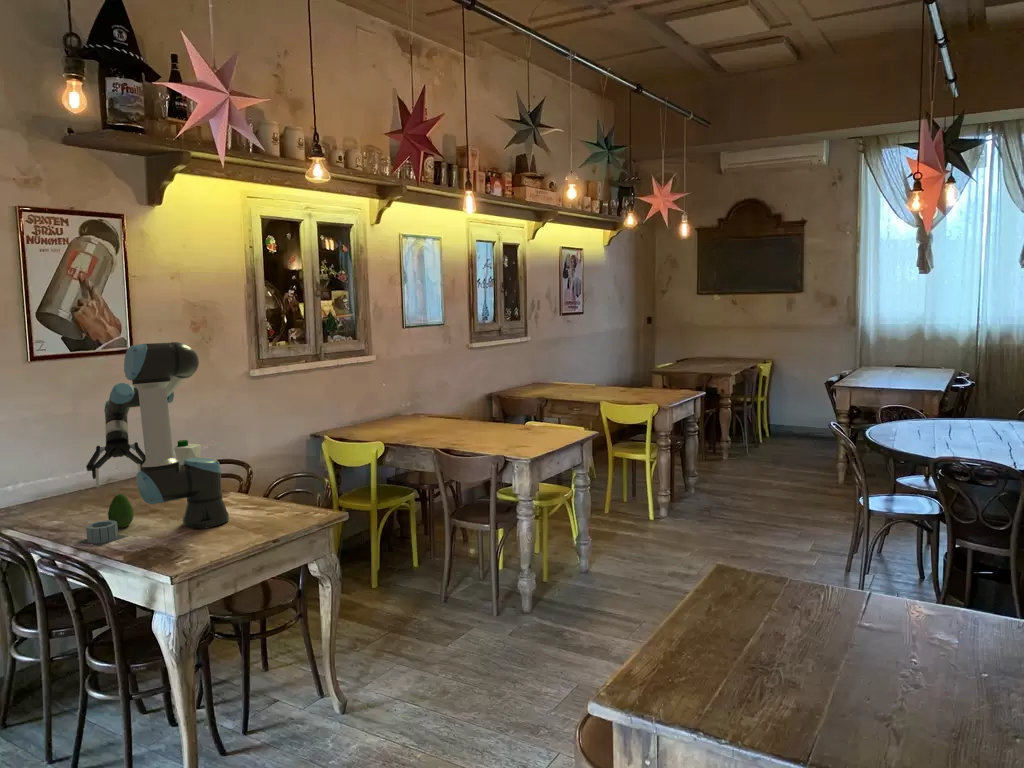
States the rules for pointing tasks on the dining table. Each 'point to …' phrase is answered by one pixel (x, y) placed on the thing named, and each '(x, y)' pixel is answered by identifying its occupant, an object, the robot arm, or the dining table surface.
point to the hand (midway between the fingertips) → (119, 483)
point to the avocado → (121, 511)
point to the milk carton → (187, 451)
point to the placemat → (102, 543)
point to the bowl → (102, 531)
